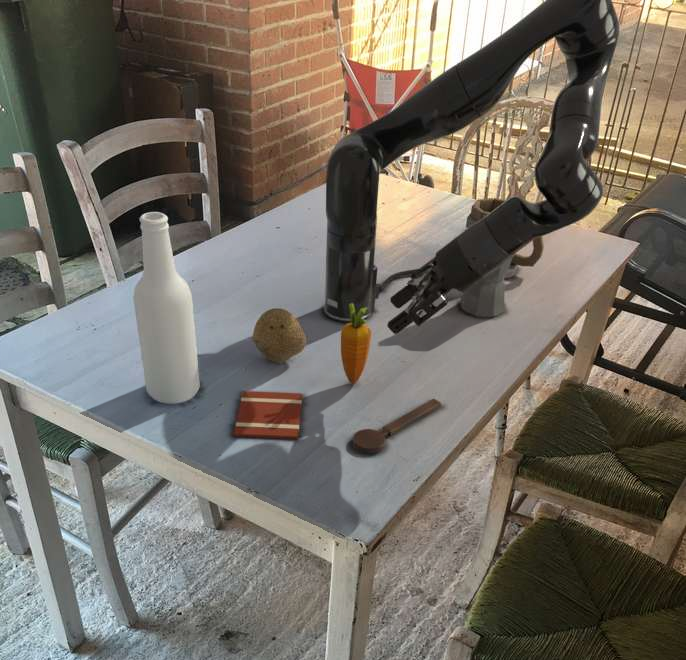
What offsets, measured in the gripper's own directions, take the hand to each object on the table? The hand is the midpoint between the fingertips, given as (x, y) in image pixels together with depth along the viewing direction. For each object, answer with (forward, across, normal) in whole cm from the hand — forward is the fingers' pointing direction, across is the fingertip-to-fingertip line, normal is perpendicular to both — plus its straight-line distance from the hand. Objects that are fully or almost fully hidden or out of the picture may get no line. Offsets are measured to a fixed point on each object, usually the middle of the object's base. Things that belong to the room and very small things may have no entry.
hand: (392, 316), depth 123 cm
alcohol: (+35, +7, -15) cm, 39 cm away
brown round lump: (+24, -6, -4) cm, 25 cm away
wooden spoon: (+8, +12, +11) cm, 18 cm away
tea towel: (+23, +12, -3) cm, 26 cm away
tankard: (-7, -52, +26) cm, 58 cm away
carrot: (+14, 0, +6) cm, 15 cm away
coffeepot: (-2, -32, +22) cm, 39 cm away
